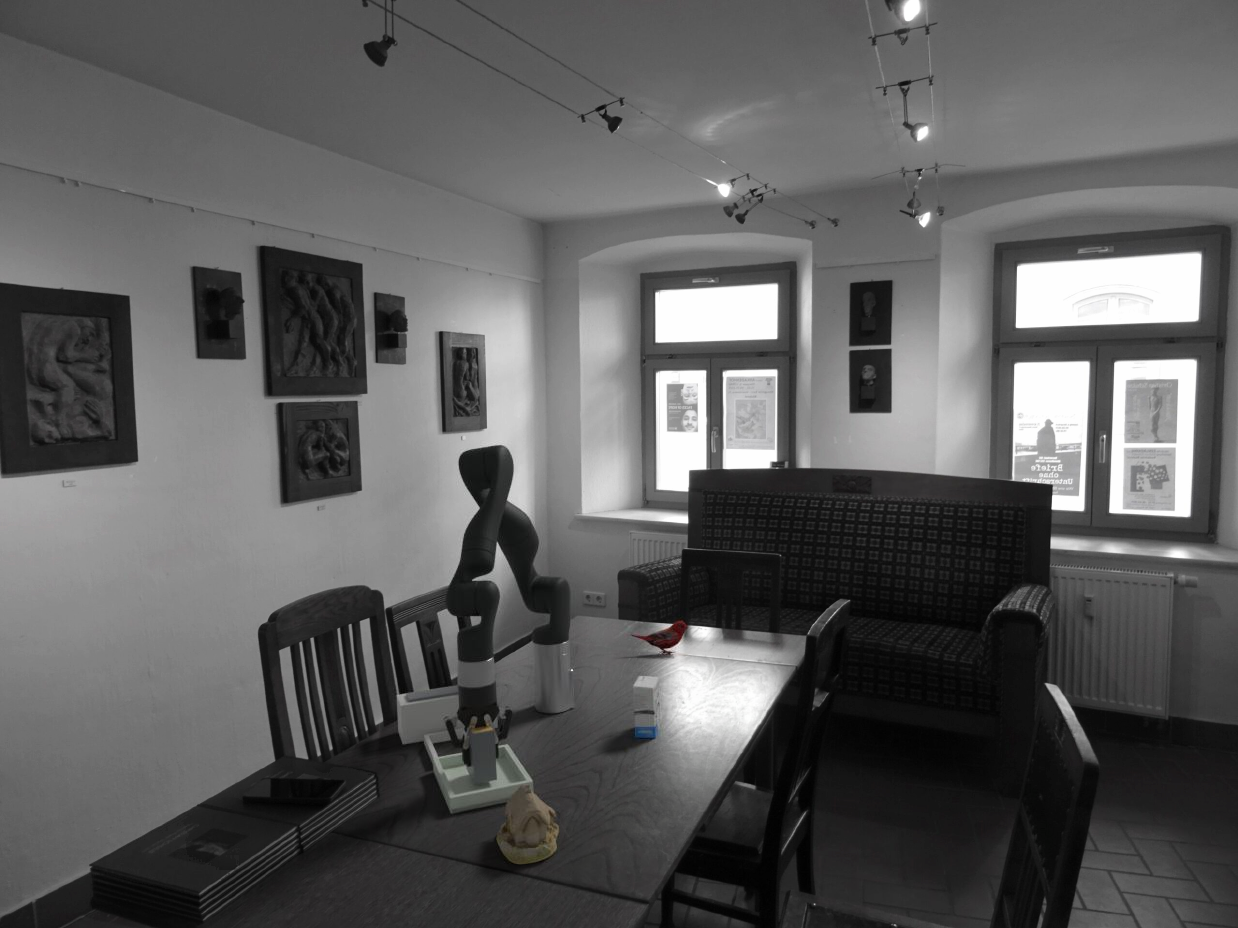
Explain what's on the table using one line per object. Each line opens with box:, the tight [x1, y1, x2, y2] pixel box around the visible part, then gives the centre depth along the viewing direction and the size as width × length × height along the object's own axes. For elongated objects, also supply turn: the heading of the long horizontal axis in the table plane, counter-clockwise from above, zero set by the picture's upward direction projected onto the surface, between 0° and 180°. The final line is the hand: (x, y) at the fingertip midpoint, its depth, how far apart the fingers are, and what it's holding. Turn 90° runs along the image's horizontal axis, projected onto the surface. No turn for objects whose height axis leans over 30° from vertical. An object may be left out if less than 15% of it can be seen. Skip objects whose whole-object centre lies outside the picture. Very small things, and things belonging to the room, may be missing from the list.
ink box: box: [632, 675, 661, 739], centre depth 191 cm, size 9×5×12 cm, turn 168°
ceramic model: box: [496, 784, 560, 865], centre depth 143 cm, size 14×11×10 cm
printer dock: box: [396, 684, 499, 764], centre depth 188 cm, size 22×24×10 cm
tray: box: [432, 743, 535, 814], centre depth 167 cm, size 16×20×3 cm
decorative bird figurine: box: [630, 620, 689, 655], centre depth 251 cm, size 3×18×10 cm, turn 89°
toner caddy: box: [466, 726, 497, 784], centre depth 166 cm, size 4×8×10 cm, turn 22°
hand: (480, 762), depth 166 cm, fingers closed on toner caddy, 4 cm apart
